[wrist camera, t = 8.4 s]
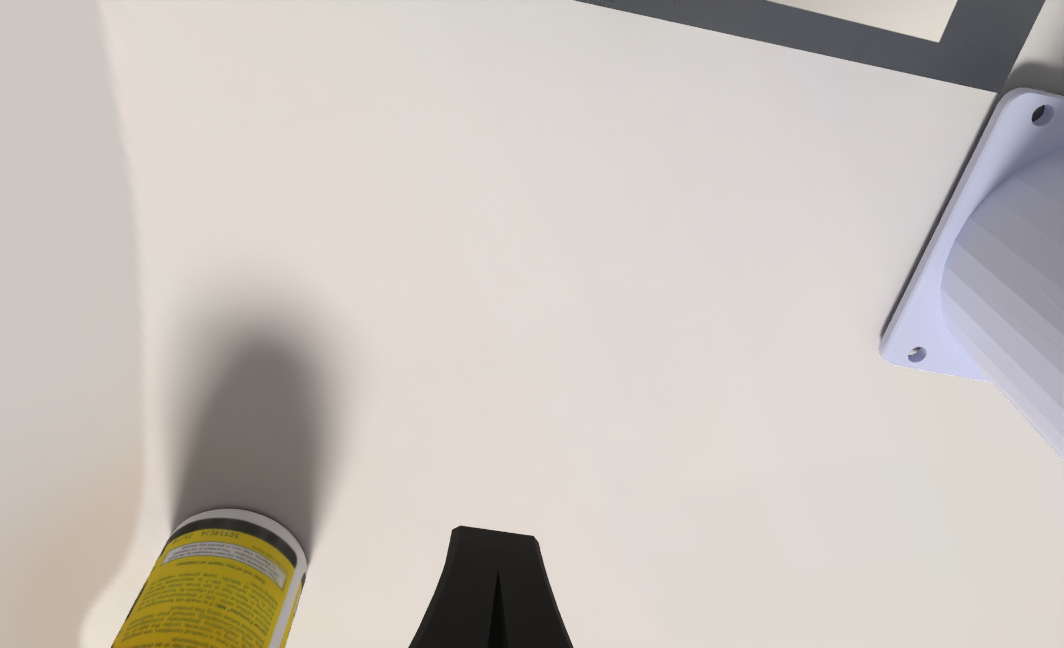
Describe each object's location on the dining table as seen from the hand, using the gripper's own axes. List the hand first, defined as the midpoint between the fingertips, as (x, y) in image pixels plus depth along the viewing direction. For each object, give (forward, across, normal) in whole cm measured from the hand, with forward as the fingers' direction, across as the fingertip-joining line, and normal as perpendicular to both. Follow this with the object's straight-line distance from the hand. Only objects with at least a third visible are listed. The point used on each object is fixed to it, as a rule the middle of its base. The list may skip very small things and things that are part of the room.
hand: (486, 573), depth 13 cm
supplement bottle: (+11, +7, +12) cm, 17 cm away
